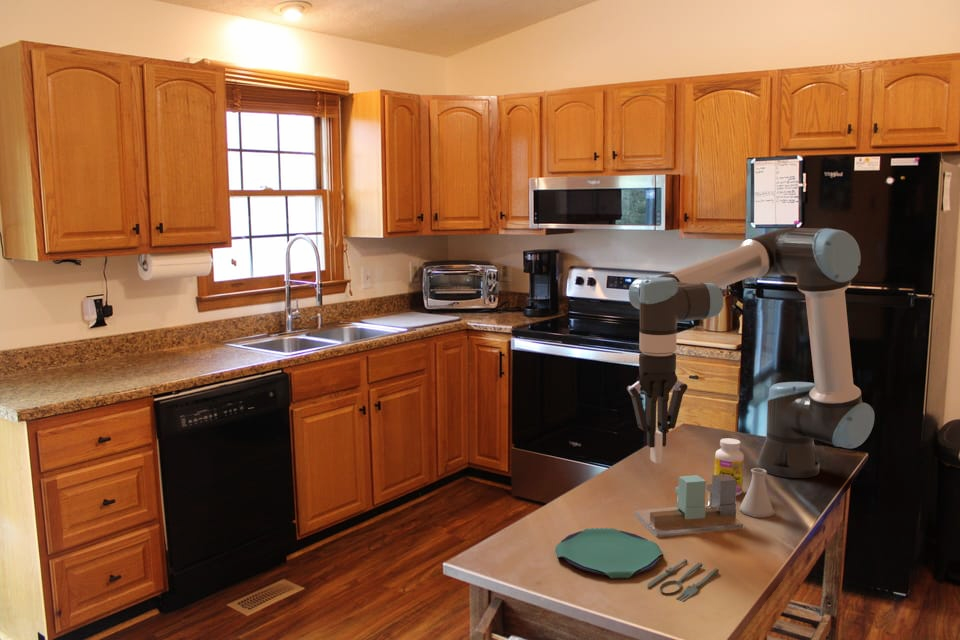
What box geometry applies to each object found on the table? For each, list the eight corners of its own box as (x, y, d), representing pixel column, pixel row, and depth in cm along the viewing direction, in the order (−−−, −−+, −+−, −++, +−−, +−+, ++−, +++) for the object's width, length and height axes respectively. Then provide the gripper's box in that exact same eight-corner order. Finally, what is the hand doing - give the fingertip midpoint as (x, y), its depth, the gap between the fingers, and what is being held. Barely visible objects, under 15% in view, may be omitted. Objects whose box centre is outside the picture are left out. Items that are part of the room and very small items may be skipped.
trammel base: (715, 508, 186) (717, 464, 184) (743, 529, 174) (745, 481, 173) (634, 515, 182) (635, 470, 180) (656, 537, 170) (658, 489, 169)
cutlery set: (595, 529, 175) (595, 518, 175) (726, 574, 155) (726, 563, 155) (538, 560, 160) (538, 549, 160) (674, 614, 141) (675, 602, 140)
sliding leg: (686, 508, 182) (688, 468, 180) (704, 523, 174) (706, 481, 172) (668, 509, 181) (669, 469, 180) (685, 524, 173) (687, 483, 171)
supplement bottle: (713, 495, 194) (716, 444, 192) (712, 486, 200) (715, 436, 198) (743, 498, 192) (745, 446, 190) (741, 488, 199) (743, 438, 197)
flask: (733, 508, 186) (735, 467, 184) (758, 504, 188) (761, 463, 187) (754, 520, 179) (756, 477, 178) (780, 516, 182) (783, 473, 180)
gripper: (678, 347, 173) (676, 453, 177) (621, 350, 170) (620, 458, 174) (695, 353, 166) (692, 464, 169) (635, 357, 163) (634, 469, 167)
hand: (656, 461), depth 172 cm, fingers closed
